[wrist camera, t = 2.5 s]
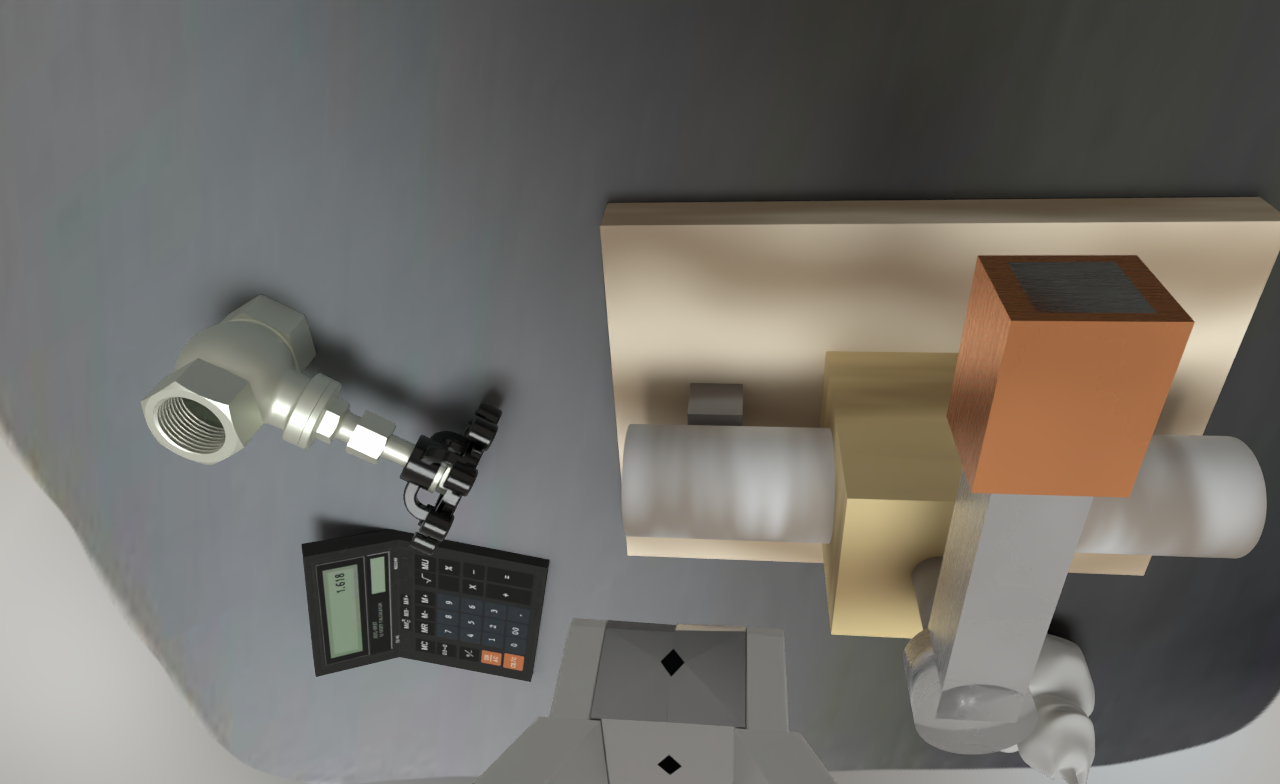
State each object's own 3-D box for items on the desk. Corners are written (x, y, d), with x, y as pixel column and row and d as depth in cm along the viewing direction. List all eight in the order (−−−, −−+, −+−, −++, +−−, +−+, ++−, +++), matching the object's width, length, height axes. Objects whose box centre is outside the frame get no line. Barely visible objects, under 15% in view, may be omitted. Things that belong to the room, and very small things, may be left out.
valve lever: (1002, 683, 24) (1027, 768, 22) (895, 677, 24) (909, 760, 22) (1136, 255, 16) (1194, 321, 14) (977, 255, 17) (1011, 321, 15)
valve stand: (607, 203, 30) (536, 408, 20) (1259, 196, 28) (1561, 427, 18) (632, 524, 40) (592, 779, 29) (1126, 541, 37) (1273, 827, 27)
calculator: (533, 668, 47) (522, 716, 45) (330, 630, 47) (308, 675, 45) (550, 555, 42) (538, 602, 39) (321, 511, 42) (294, 555, 39)
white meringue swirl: (1107, 629, 40) (1176, 788, 34) (1027, 703, 44) (1076, 859, 38) (1007, 596, 40) (1058, 751, 33) (934, 674, 44) (967, 827, 37)
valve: (211, 365, 37) (461, 480, 39) (120, 461, 31) (416, 587, 34) (243, 248, 33) (516, 382, 36) (147, 333, 28) (476, 485, 30)
